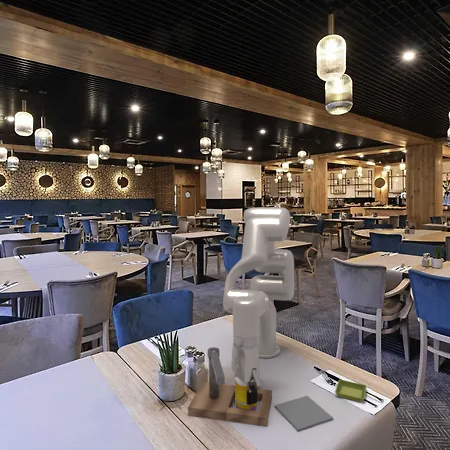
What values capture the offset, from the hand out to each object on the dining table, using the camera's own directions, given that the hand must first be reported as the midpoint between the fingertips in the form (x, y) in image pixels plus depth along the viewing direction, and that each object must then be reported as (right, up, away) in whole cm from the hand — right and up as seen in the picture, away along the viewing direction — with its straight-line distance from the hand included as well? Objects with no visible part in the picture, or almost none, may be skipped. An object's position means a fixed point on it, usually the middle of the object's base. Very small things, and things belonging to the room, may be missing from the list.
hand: (246, 396), depth 103 cm
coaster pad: (+16, -4, -2) cm, 17 cm away
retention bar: (-9, +11, -6) cm, 15 cm away
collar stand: (-4, -4, +1) cm, 6 cm away
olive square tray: (+34, -3, +7) cm, 35 cm away
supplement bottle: (0, -4, 0) cm, 4 cm away
